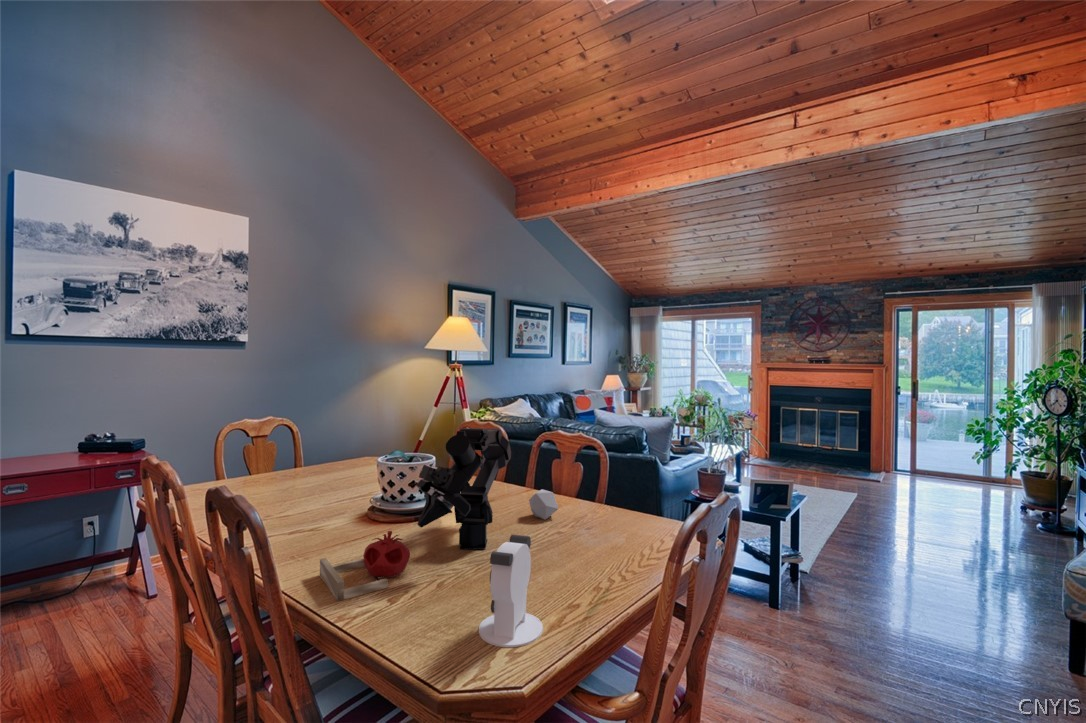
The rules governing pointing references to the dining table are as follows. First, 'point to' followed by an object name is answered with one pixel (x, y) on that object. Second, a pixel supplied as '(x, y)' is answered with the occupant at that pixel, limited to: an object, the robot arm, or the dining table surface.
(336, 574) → the cradle
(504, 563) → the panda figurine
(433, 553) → the dining table surface
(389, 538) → the pomegranate
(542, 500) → the die
